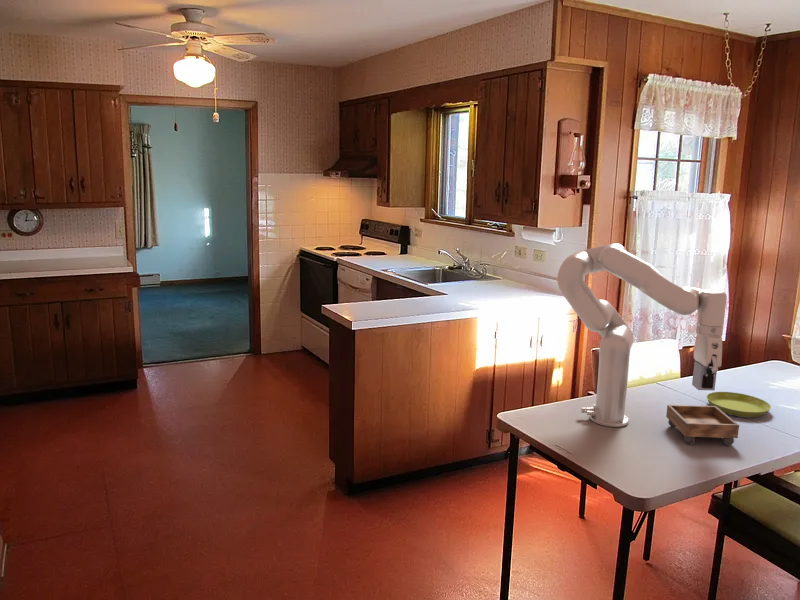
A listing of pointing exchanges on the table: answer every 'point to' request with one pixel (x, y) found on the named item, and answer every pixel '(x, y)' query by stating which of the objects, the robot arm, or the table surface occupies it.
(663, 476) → the table surface
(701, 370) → the block
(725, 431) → the cart
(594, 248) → the robot arm
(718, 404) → the saucer
